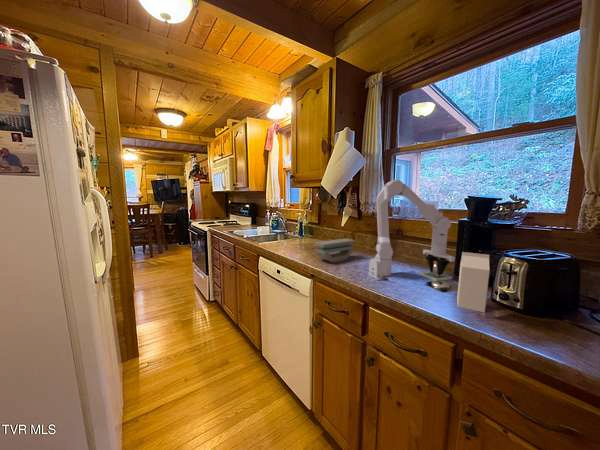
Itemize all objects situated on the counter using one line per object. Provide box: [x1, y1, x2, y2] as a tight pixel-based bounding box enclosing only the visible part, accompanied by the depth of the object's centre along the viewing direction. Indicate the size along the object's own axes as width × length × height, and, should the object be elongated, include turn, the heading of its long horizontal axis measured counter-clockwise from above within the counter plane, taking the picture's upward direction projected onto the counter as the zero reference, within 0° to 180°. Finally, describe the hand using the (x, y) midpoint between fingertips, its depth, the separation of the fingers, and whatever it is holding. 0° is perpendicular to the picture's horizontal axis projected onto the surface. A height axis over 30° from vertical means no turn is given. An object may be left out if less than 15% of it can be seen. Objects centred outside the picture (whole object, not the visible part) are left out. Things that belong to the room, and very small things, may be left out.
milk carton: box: [456, 251, 491, 317], centre depth 78 cm, size 7×7×19 cm
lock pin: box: [431, 260, 442, 278], centre depth 106 cm, size 4×4×7 cm
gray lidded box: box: [313, 238, 356, 263], centre depth 139 cm, size 25×8×11 cm, turn 125°
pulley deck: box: [423, 280, 459, 294], centre depth 95 cm, size 13×9×4 cm
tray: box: [420, 271, 453, 282], centre depth 107 cm, size 9×8×2 cm
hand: (436, 273), depth 106 cm, fingers closed on lock pin, 3 cm apart
